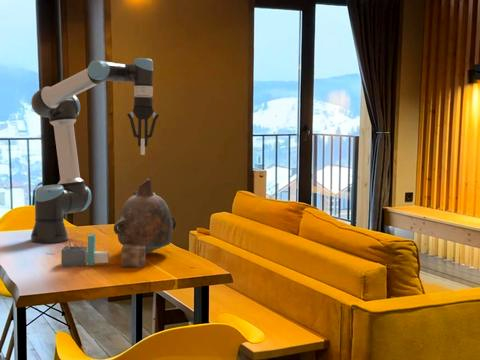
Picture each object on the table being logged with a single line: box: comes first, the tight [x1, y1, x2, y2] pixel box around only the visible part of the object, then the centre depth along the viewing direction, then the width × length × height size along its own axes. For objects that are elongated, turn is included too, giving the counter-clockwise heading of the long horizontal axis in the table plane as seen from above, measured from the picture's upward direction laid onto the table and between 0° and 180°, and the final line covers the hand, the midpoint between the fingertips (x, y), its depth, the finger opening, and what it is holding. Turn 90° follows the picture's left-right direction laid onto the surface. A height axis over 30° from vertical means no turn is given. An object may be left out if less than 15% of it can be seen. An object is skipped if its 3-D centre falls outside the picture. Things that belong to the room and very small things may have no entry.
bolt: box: [85, 233, 110, 266], centre depth 229 cm, size 16×5×10 cm, turn 96°
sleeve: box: [60, 246, 88, 268], centre depth 229 cm, size 8×7×6 cm
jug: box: [113, 178, 176, 255], centre depth 249 cm, size 24×21×30 cm
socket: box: [121, 244, 146, 269], centre depth 231 cm, size 8×8×7 cm
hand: (142, 154), depth 262 cm, fingers closed
